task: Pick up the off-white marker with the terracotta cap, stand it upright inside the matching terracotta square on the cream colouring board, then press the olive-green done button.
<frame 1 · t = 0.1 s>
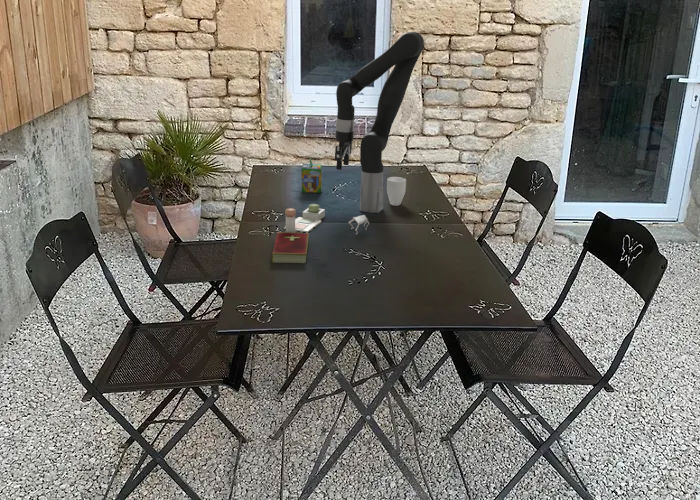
hand: (342, 167, 284), 17 cm above the table, tool pointing down, fingers open, 8 cm apart
colouring board: (303, 225, 265), on the table
hardcover book: (290, 253, 239), on the table
chalk box: (311, 190, 311), on the table
marker: (290, 235, 254), on the table
mug: (395, 203, 297), on the table
origami figure: (358, 231, 262), on the table
done button: (313, 209, 273), point 4 cm above the table, slide at 0.0 cm
button housing: (313, 217, 275), on the table
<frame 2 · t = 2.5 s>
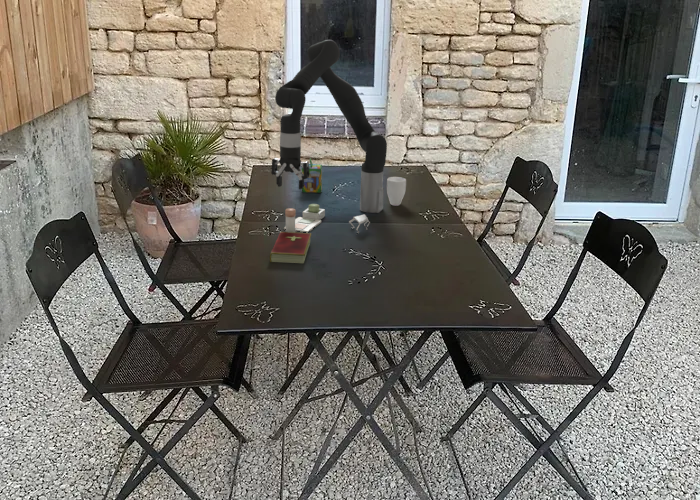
hand: (290, 187, 247), 19 cm above the table, tool pointing down, fingers open, 8 cm apart
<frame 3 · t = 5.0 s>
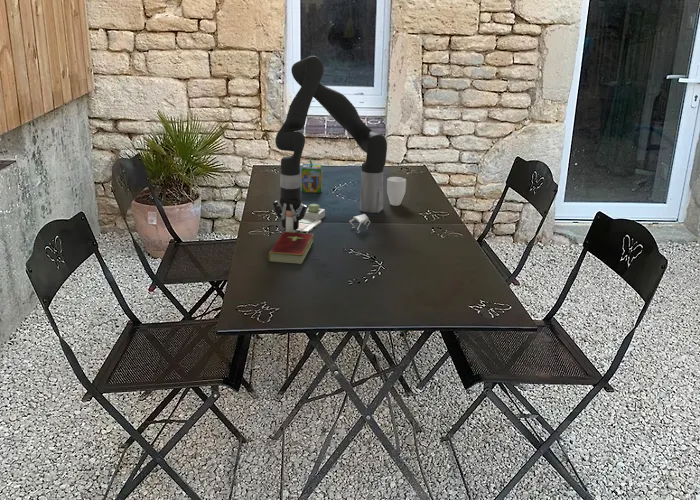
hand: (290, 228, 253), 3 cm above the table, tool pointing down, fingers closed on marker, 3 cm apart
marker: (290, 235, 254), on the table, touching gripper
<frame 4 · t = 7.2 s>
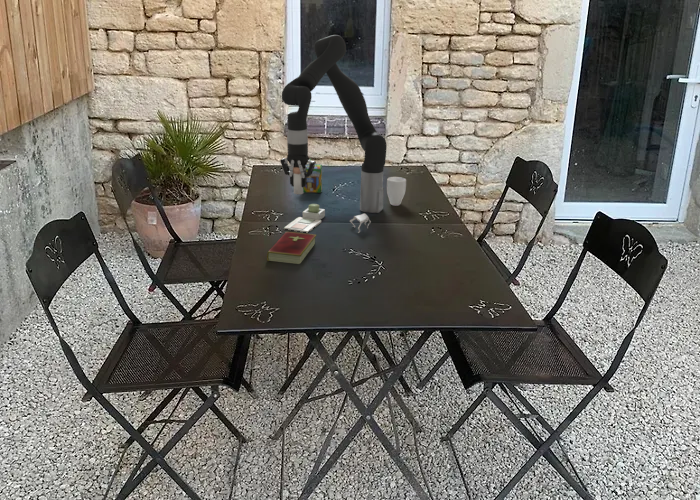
hand: (298, 186, 251), 18 cm above the table, tool pointing down, fingers closed on marker, 3 cm apart
marker: (298, 193, 252), point 16 cm above the table, touching gripper
when the fingers open (5 cm above the table, at t = 9.7 s): marker stays where it is, resting on colouring board.
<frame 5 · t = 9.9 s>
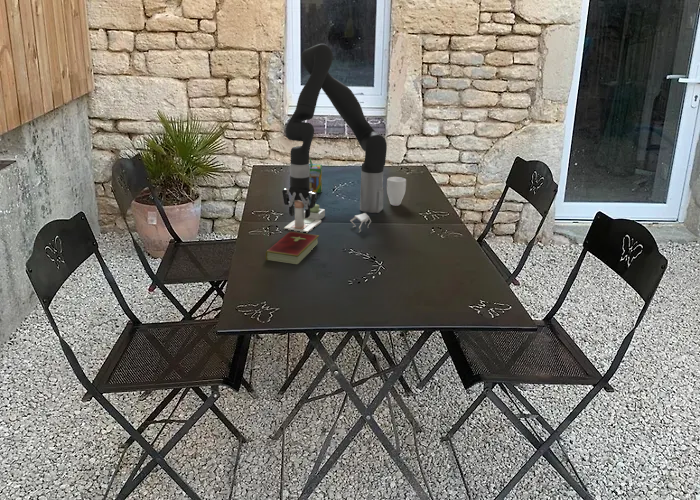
hand: (299, 216, 260), 5 cm above the table, tool pointing down, fingers open, 5 cm apart
marker: (299, 226, 261), point 1 cm above the table, touching colouring board
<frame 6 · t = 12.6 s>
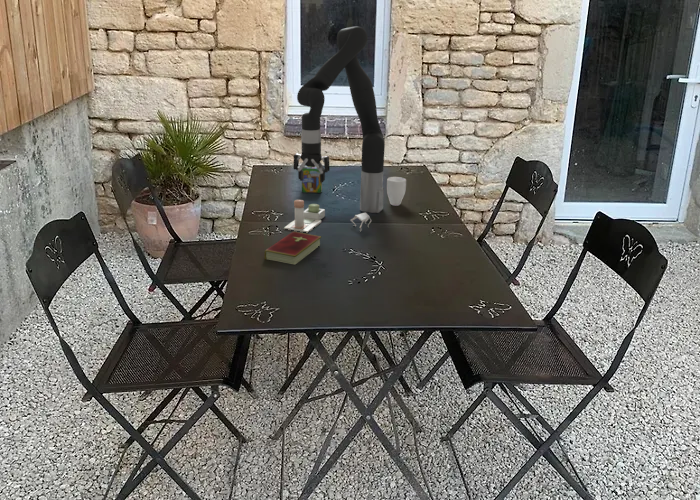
hand: (311, 181, 263), 17 cm above the table, tool pointing down, fingers open, 8 cm apart
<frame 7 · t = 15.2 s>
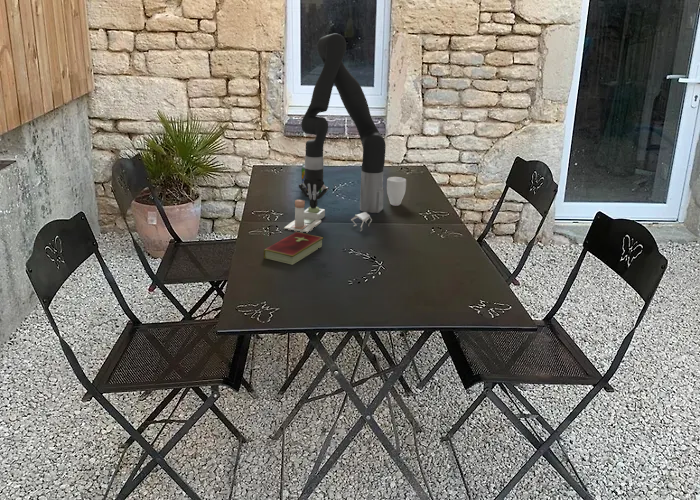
hand: (313, 207, 273), 4 cm above the table, tool pointing down, fingers closed
done button: (313, 211, 274), point 3 cm above the table, slide at 1.1 cm, touching gripper
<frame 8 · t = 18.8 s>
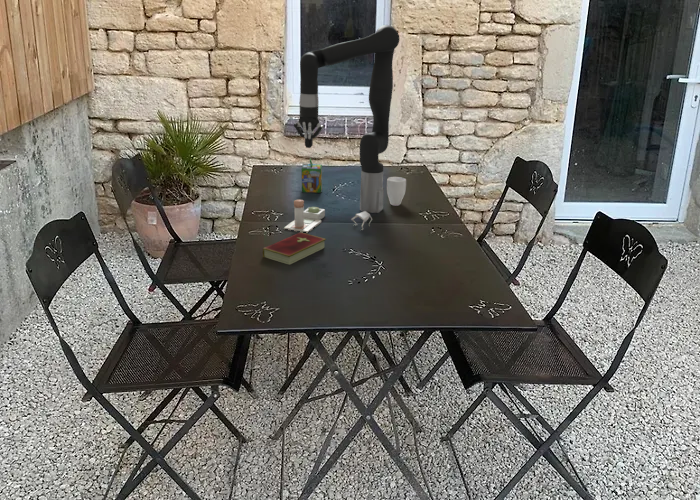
hand: (308, 147, 273), 27 cm above the table, tool pointing down, fingers closed
done button: (313, 211, 274), point 2 cm above the table, slide at 1.3 cm
at the end: marker 0.0 cm from the target spot on the colouring board, point 1.0 cm above the colouring board's base; marker tilted 2°; done button slide at 1.3 cm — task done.
